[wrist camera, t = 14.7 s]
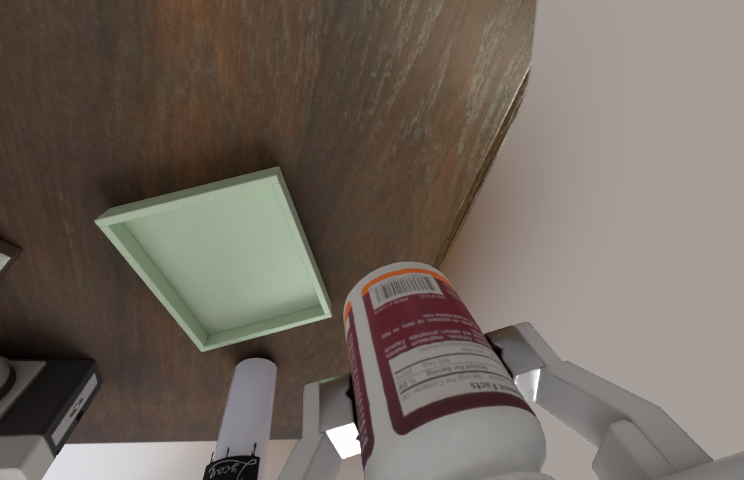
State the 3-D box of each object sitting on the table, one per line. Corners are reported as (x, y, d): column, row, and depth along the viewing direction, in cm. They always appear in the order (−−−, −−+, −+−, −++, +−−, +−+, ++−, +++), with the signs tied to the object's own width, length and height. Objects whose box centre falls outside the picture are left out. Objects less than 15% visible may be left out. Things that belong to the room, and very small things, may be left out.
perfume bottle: (285, 376, 37) (264, 648, 20) (236, 383, 36) (169, 673, 19) (279, 345, 34) (247, 634, 17) (225, 352, 33) (134, 664, 16)
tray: (110, 207, 23) (93, 220, 21) (279, 165, 23) (276, 174, 22) (208, 335, 31) (201, 352, 29) (331, 302, 32) (332, 317, 30)
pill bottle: (407, 353, 14) (499, 634, 7) (320, 324, 12) (333, 667, 5) (473, 284, 13) (673, 558, 6) (387, 238, 11) (528, 567, 4)
